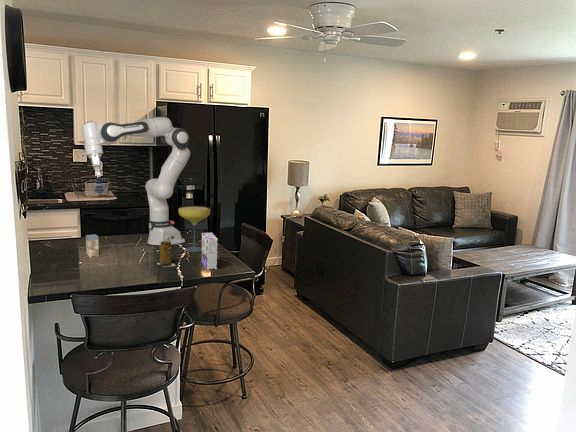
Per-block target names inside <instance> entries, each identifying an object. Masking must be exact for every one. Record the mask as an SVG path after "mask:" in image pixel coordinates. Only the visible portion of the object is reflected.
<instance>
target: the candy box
mask: <svg viewBox="0 0 576 432" xmlns="http://www.w3.org/2000/svg"><path fill="white" fill-rule="evenodd" d="M218 240H219V239H218V238H217V236H216V235H214V233H213V232H201V248H202V251H201V264H202V266H203V267H204V269H205V270H206V271H210V270H212V271H213V270H214V269H215V270H218V248H219V247H218V246H219V245H218V242H219V241H218Z"/></svg>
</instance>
